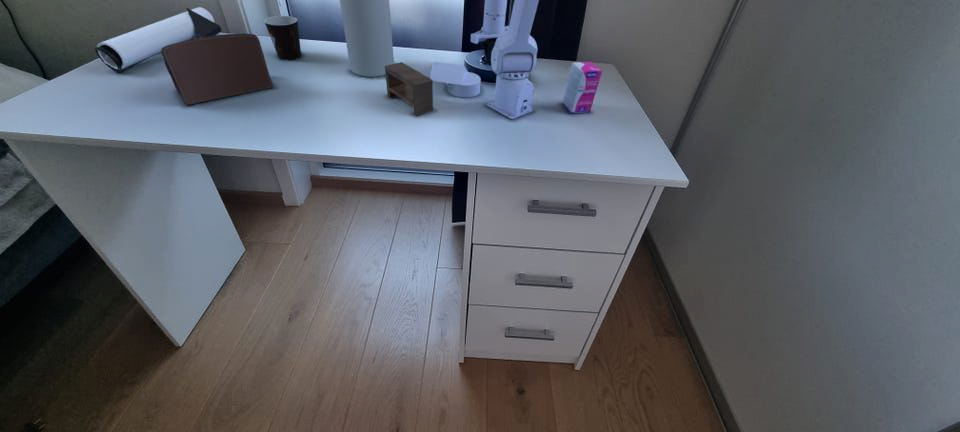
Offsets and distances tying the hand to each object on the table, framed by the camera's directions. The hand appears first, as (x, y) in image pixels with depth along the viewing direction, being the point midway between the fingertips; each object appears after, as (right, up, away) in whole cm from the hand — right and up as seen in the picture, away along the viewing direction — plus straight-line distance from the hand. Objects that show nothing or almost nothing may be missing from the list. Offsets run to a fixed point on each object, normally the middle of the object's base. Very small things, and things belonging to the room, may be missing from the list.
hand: (490, 64), depth 113 cm
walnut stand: (-21, -15, -12) cm, 28 cm away
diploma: (-91, +4, +1) cm, 91 cm away
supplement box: (+23, -15, -8) cm, 28 cm away
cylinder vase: (-34, -1, +2) cm, 35 cm away
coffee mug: (-60, +3, +4) cm, 60 cm away
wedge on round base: (-9, -8, -4) cm, 13 cm away
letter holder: (-67, -12, -13) cm, 69 cm away
